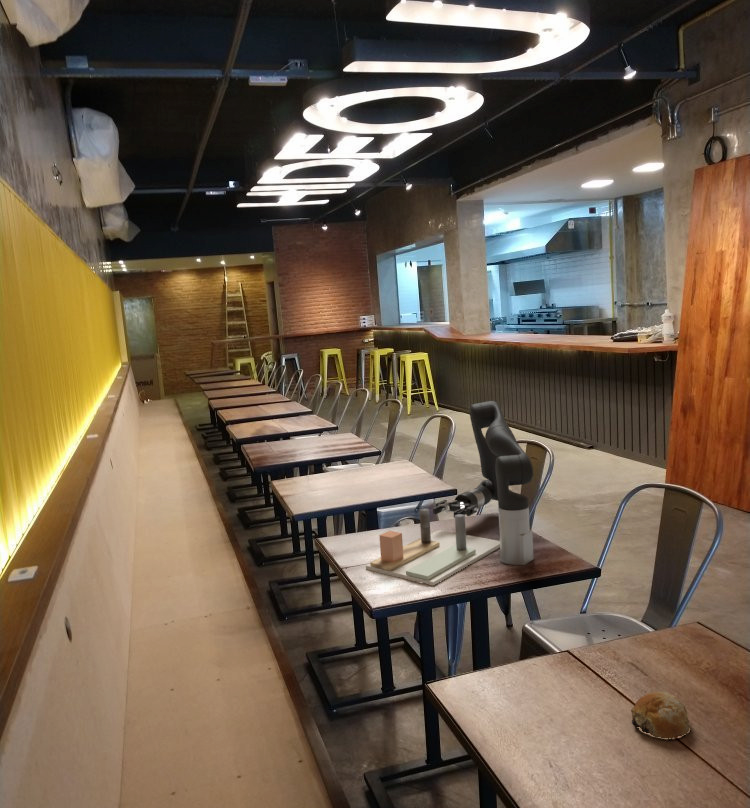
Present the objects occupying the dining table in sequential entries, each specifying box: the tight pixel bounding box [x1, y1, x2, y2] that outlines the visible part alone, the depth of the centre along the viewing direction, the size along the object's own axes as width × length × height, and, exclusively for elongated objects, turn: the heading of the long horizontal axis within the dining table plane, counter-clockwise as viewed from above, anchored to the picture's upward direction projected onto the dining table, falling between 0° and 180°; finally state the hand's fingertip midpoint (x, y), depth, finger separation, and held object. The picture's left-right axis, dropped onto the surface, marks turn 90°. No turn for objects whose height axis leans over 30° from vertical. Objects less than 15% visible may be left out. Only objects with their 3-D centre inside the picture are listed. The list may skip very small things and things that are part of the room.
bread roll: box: [630, 691, 690, 739], centre depth 132 cm, size 10×10×8 cm
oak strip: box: [369, 508, 440, 571], centre depth 226 cm, size 8×26×12 cm, turn 140°
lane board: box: [365, 529, 500, 586], centre depth 228 cm, size 26×40×1 cm, turn 140°
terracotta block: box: [379, 530, 404, 563], centre depth 221 cm, size 5×5×8 cm
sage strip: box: [406, 514, 476, 580], centre depth 217 cm, size 8×26×12 cm, turn 140°
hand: (444, 513), depth 243 cm, fingers open, 8 cm apart
